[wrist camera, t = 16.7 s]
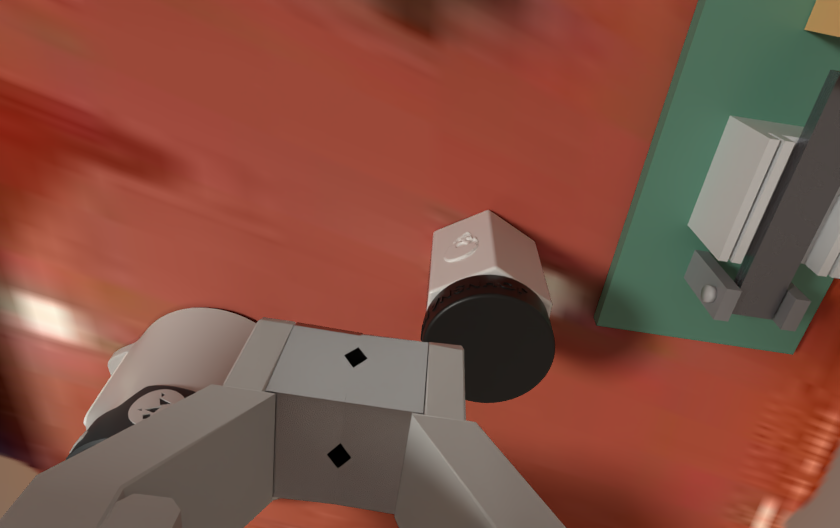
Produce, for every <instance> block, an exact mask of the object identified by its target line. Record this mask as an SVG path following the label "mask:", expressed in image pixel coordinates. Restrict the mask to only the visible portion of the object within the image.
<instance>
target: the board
mask: <svg viewBox="0 0 840 528" xmlns="http://www.w3.org/2000/svg"><path fill="white" fill-rule="evenodd" d="M815 3H816V0H698V3H697V6H696V9H695V12H694V15H693V18H692V21H691V24H690V27H689V30H688V33H687V36H686V39H685V42H684V45H683V48H682V51H681V54H680V57H679V61H678V64H677V67H676V70H675V73H674V76H673V79H672V82H671V85H670V88H669V91H668V94H667V97H666V100H665V103H664V106H663V109H662V112H661V115H660V118H659V121H658V124H657V127H656V130H655V133H654V136H653V139H652V142H651V145H650V148H649V151H648V154H647V157H646V160H645V163H644V166H643V169H642V172H641V175H640V178H639V181H638V184H637V187H636V190H635V194H634V197H633V200H632V203H631V206H630V209H629V212H628V215H627V218H626V221H625V224H624V227H623V230H622V233H621V236H620V239H619V242H618V245H617V248H616V251H615V254H614V257H613V260H612V263H611V266H610V269H609V272H608V275H607V278H606V281H605V284H604V287H603V290H602V293H601V296H600V299H599V302H598V305H597V308H596V311H595V314H594V320H595V322H596V325H597V326H603V327H610V328H617V329H624V330H630V331H637V332H644V333H651V334H658V335H664V336H671V337H678V338H685V339H691V340H698V341H705V342H712V343H718V344H725V345H732V346H739V347H746V348H752V349H759V350H766V351H773V352H779V353H786V354H793V353H794V352H795V350H796V348H797V346H798V344H799V342H800V340H801V339H802V337H803V335H804V333H805V331H806V329H807V327H808V326H809V324H810V322H811V320H812V318H813V316H814V314H815V313H816V311H817V309H818V307H819V305H820V303H821V301H822V300H823V298H824V296H825V294H826V292H827V290H828V288H829V287H830V285H831V283H832V281H833V279H834V278H838V279H840V187H839V189H838V191H837V193H836V195H835V197H834V199H833V201H832V203H831V205H830V207H829V208H828V210H827V212H826V214H825V216H824V218H823V220H822V222H821V224H820V226H819V228H818V230H817V232H816V234H815V236H814V238H813V240H812V242H811V244H810V246H809V248H808V250H807V252H806V254H805V256H804V257H803V259H802V261H801V263H800V265H799V267H798V269H797V271H796V273H795V275H794V277H793V279H792V281H791V283H790V285H789V287H788V289H787V291H786V293H785V295H784V297H783V299H782V301H781V303H780V305H779V306H778V308H777V310H776V312H775V314H774V316H773V318H772V320H770V319H763V318H756V317H749V316H743V315H736V314H732V312H733V310H734V308H735V305H736V303H737V301H738V299H739V297H740V295H741V292H742V290H741V289H740V288H739V287H738V286H737V285H736V283H735V282H734V280H735V278H736V275H737V273H738V271H739V269H740V267H741V264H742V262H743V260H744V258H745V256H746V253H747V251H748V249H749V247H750V245H751V242H752V240H753V238H754V236H755V234H756V232H757V229H758V227H759V225H760V223H761V221H762V218H763V216H764V214H765V212H766V210H767V207H768V205H769V203H770V201H771V199H772V196H773V194H774V192H775V190H776V188H777V185H778V183H779V181H780V179H781V177H782V175H783V172H784V170H785V168H786V166H787V164H788V161H789V159H790V157H791V155H792V153H793V150H794V148H795V146H796V144H797V142H798V139H799V137H800V135H801V133H802V131H803V128H804V126H805V124H806V122H807V120H808V117H809V115H810V113H811V111H812V109H813V107H814V104H815V102H816V100H817V98H818V96H819V93H820V91H821V89H822V87H823V85H824V82H825V80H826V78H827V76H828V74H829V71H830V70H836V71H840V37H837V36H832V35H827V34H822V33H817V32H813V31H808V30H804V29H805V26H806V24H807V22H808V19H809V17H810V15H811V12H812V10H813V7H814V5H815Z"/></svg>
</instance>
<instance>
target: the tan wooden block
mask: <svg viewBox="0 0 840 528" xmlns="http://www.w3.org/2000/svg"><path fill="white" fill-rule="evenodd" d="M804 30H808V31H813V32H817V33H822V34H827V35H832V36H837V37H840V0H816V3H815V5H814V7H813V10H812V12H811V15H810V17H809V19H808V22H807V24H806V26H805V29H804Z"/></svg>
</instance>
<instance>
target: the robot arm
mask: <svg viewBox="0 0 840 528" xmlns="http://www.w3.org/2000/svg"><path fill="white" fill-rule="evenodd" d="M108 368H109V371H110V374H111V377H110V379H109V380H108V382H107V383H106V385H105V386H104V388H103V389H102V391H101V392H100V394H99V395H98V397H97V398H96V400H95V401H94V403H93V404H92V406H91V407H90V409H89V411H88V412H87V414H86V416H85V418H84V425H85V426H86V430H87V431H85V432H84V434H83V435H82V436H80V438H79V439H78V440H77V442H76V443H75V444H74V446H73V448H72V449H71V451H70V454H69V456H68V457H67V458H66V460H65V461H63V462H61V463H60V464H58V465H56V466H54V467H52V468H50V469H48V470H46V471H44V472H42V473H40V474H38V475H36V476H35V478H34V479H33V480H32V481H31V483H30V484H29V485H28V486H27V487H26V489H25V490H24V491H23V492H22V494H21V495H20V496H19V497H18V499H17V500H16V501H15V502H14V503H13V505H12V506H11V507H10V508H9V510H8V511H7V512H6V513H5V515H4V516H3V517H2V518H1V520H0V528H244V527H245V526H246V525H247V524H248V523H249V522H250V521H251V520H253V519H254V517H255V516H257V515H258V514H259V513H260V512H261V511H262V510H263V509H264V508H265V507H266V506H267V505H268V504H269V503H270V502H272V500H276V499H279V498H285V499H294V500H303V501H312V502H321V503H330V504H334V503H335V504H337V505H343V506H349V507H355V508H361V509H367V510H372V511H378V512H384V513H390V514H395V516H394V518H395V520H396V522H397V524H398V526H399V528H566V527H565V526H564V525H563V524H562V522H561V521H560V520H559V519H558V518H557V517H556V515H555V514H554V513H553V512H552V511H551V510H550V508H549V507H548V506H547V505H546V504H545V503H544V501H543V500H542V499H541V498H540V497H539V495H538V494H537V493H536V492H535V491H534V490H533V488H532V487H531V486H530V485H529V484H528V483H527V481H526V480H525V479H524V478H523V477H522V476H521V474H520V473H519V472H518V471H517V470H516V469H515V467H514V466H513V465H512V464H511V463H510V462H509V460H508V459H507V458H506V457H505V456H504V455H503V453H502V452H501V451H500V450H499V449H498V448H497V446H496V445H495V444H494V443H493V442H492V440H491V439H490V438H489V437H488V436H487V435H486V433H485V432H484V431H483V430H482V429H481V428H480V426H479V425H478V424H477V423H476V422H471V421H466V410H465V369H464V349H463V347H462V346H461V345H452V344H443V343H434V342H429V344H428V342H420V341H412V340H405V339H397V338H390V337H382V336H374V335H367V334H363V333H359V332H353V331H347V330H341V329H335V328H329V327H323V326H317V325H311V324H305V323H299V322H297V323H295V322H293V321H286V320H279V319H272V318H266V317H263V318H262V319H260V320H259V321H257V323H255V322H253V321H251V320H249V319H247V318H245V317H243V316H240V315H237V314H235V313H232V312H228V311H224V310H219V309H213V308H188V309H182V310H178V311H175V312H172V313H169V314H167V315H165V316H163V317H161V318H160V319H158V320H157V321H155V322H154V323H153V324H152V325H151V326H150V327H149V328H148V329H147V330H146V331H145V333H144V334H143V335H142V336H141V338H140V339H139V340H138V341H136V342H135V343H133V344H130V345H128V346H125V347H123V348H121V349H119V350H117V351H116V352H115V353H114V354H113V355H112V357H111V358H110V360H109V362H108Z"/></svg>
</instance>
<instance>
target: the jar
mask: <svg viewBox="0 0 840 528" xmlns="http://www.w3.org/2000/svg"><path fill="white" fill-rule="evenodd" d="M551 309H552V301H551V298H550V294H549V290H548V287H547V283H546V280H545V276H544V272H543V269H542V265H541V262H540V258H539V255H538V251H537V247H536V244H535V242H534V241H533V240H532V239H530V238H529V237H528V236H526V235H525V234H523V233H522V232H520V231H519V230H517V229H516V228H515V227H513V226H512V225H510V224H509V223H507V222H506V221H504V220H503V219H502V218H500V217H499V216H497V215H496V214H494V213H493V212H491V211H490V210H486V211H484V212H481V213H479V214H476V215H474V216H471V217H469V218H466V219H464V220H461V221H459V222H456V223H454V224H451V225H449V226H446V227H444V228H441V229H439V230H437V231H435V232H434V233H433V241H432V250H431V260H430V269H429V278H428V289H427V301H426V313H425V318H424V321H423V325H422V331H421V341H422V342H428V344H429V342H434V343H443V344H452V345H461V346H462V347H463V349H464V369H465V400H468V401H473V402H480V403H494V402H502V401H507V400H510V399H513V398H516V397H518V396H521V395H523V394H525V393H526V392H528V391H530V390H531V389H533V388H534V387H535V386H536V385H537V384H538V383H539V382H540V381H541V380H542V379H543V378H544V377H545V376H546V374H547V373H548V371H549V369H550V367H551V365H552V362H553V359H554V354H555V340H554V335H553V331H552V327H551V323H550V319H549V318H550V314H551Z"/></svg>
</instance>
